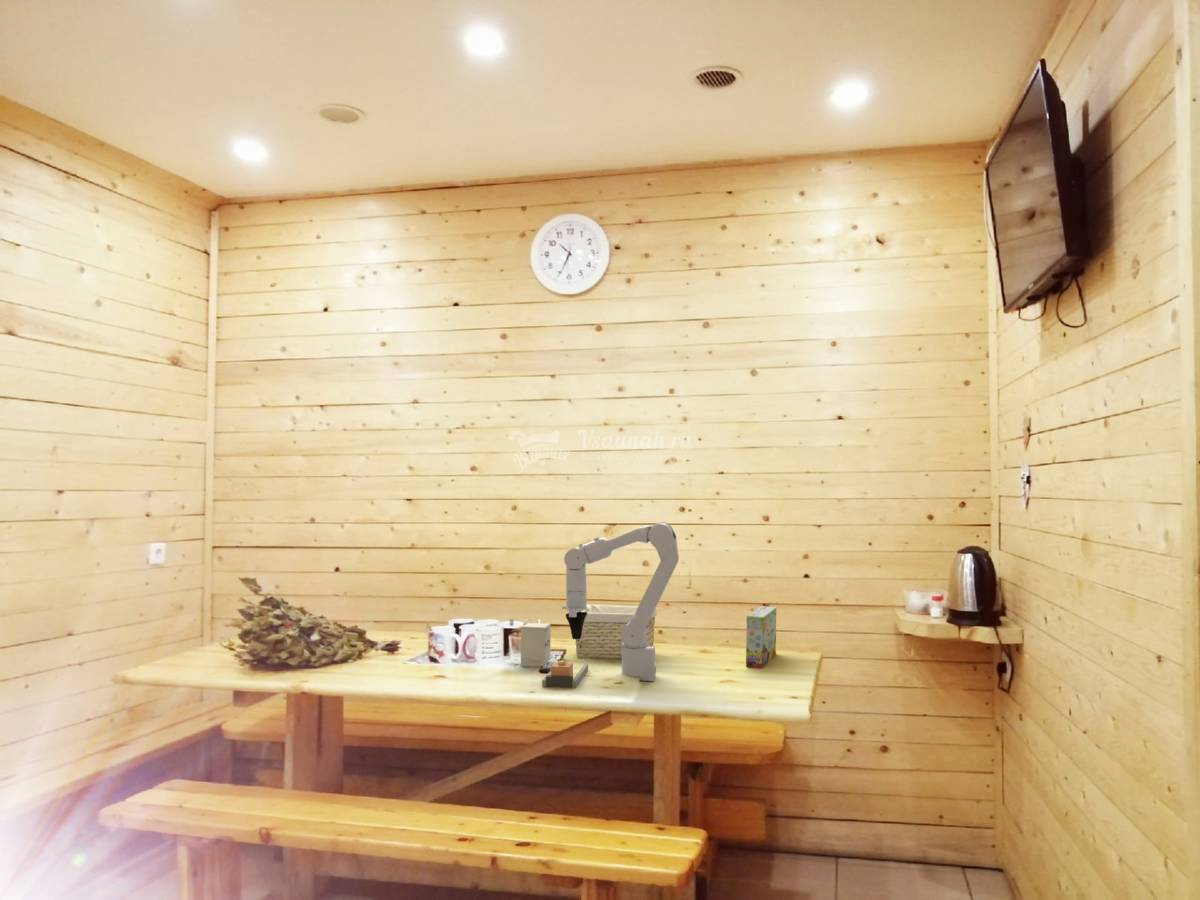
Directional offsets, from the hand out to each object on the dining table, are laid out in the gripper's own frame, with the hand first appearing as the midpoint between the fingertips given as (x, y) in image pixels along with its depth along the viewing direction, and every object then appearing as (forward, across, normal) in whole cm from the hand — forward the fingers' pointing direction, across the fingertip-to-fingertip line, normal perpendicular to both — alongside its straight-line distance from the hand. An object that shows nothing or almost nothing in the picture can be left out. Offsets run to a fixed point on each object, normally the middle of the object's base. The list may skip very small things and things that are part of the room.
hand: (576, 638), depth 242 cm
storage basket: (+11, -27, +8) cm, 30 cm away
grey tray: (+10, +8, -2) cm, 13 cm away
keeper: (+9, +14, -2) cm, 17 cm away
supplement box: (+10, -8, -13) cm, 19 cm away
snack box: (+11, -25, +53) cm, 59 cm away
